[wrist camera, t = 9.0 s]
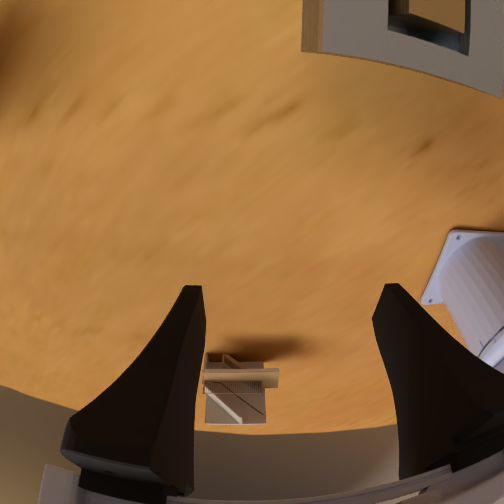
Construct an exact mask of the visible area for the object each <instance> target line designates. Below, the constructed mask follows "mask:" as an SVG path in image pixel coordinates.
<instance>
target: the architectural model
mask: <svg viewBox="0 0 504 504" xmlns="http://www.w3.org/2000/svg"><path fill="white" fill-rule="evenodd" d="M224 360H225V361H224ZM202 373H203V380H202V385H203V395H204V394H207V397H206V411H205V424H217V425H257V424H266V411H265V388H278V379H279V368H265V369H264V366H263V362H237V361H236V360H235V359H233V358H232V357H231V356H229V355H228V354H223V358H222V362H209V359H208V354H207V353H205V359H204V369H203V371H202Z"/></svg>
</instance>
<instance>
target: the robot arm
mask: <svg viewBox="0 0 504 504" xmlns="http://www.w3.org/2000/svg"><path fill="white" fill-rule="evenodd" d="M458 235H459V236H458ZM457 236H458V237H457ZM421 303H422V304H423V305H427V304H438V303H444V304H445V306H446V307H447V309H448V311H449V313H450V315H451V316H452V318H453V320H454V322H455V324H456V326H457V328H458V330H459V332H460V334H461V336H462V338H463V340H464V342H465V344H466V346H467V348H468V350H467V349H466V348H465V347H464V346H463V345H461V344H460V343H459V342H458V341H456V340H455V339H454V338H453V337H452V336H451V335H450V334H449V333H448V332H447V331H446V330H444V329H443V328H442V327H441V326H440V325H439V324H438V323H437V322H436V321H435V320H434V319H433V318H432V317H431V316H430V315H429V314H428V313H427V312H426V311H425V310H424V309H423V308H422V307H421V306H420V305H419V303H418V302H417V301H416V300H415V299H414V298H413V297H412V296H411V295H410V294H409V293H408V292H407V291H406V290H405V289H404V288H403V287H402V286H401V285H400V284H398V283H391V284H385V286H384V288H383V291H382V294H381V296H380V299H379V302H378V304H377V307H376V309H375V312H374V314H373V317H372V321H373V327H374V332H375V336H376V341H377V344H378V347H379V350H380V353H381V356H382V359H383V362H384V365H385V368H386V371H387V375H388V378H389V381H390V384H391V388H392V392H393V397H394V403H395V409H396V417H397V425H398V436H399V481H396V482H392V483H388V484H384V485H379V486H376V487H371V488H366V489H361V490H356V491H351V492H345V493H339V494H333V495H326V496H318V497H310V498H300V499H289V500H288V499H287V500H270V501H220V500H202V499H191V498H181V497H185V496H188V495H189V494H191V493H192V492H193V491H194V461H193V460H194V420H195V402H196V394H197V388H198V382H199V376H200V370H201V364H202V359H203V353H204V347H205V334H206V317H205V309H204V301H203V293H202V286H197V285H185V286H184V287H183V289H182V291H181V293H180V294H179V296H178V298H177V300H176V302H175V303H174V305H173V307H172V309H171V310H170V312H169V314H168V315H167V317H166V318H165V320H164V321H163V323H162V324H161V326H160V327H159V329H158V330H157V332H156V333H155V335H154V336H153V337H152V339H151V340H150V341H149V343H148V344H147V346H146V347H145V348H144V349H143V351H142V352H141V353H140V354H139V356H138V357H137V358H136V359H135V360H134V361H133V363H132V364H131V365H130V366H129V367H128V368H127V369H126V370H125V371H124V372H123V373H122V374H121V376H120V377H119V378H118V379H117V380H116V381H115V382H113V383H112V384H111V385H110V386H109V387H108V388H107V389H106V390H105V391H103V392H102V393H101V394H100V395H99V396H98V397H97V398H96V399H94V400H93V401H92V402H91V403H89V404H88V405H87V406H85V407H84V408H83V409H81V410H80V411H78V412H77V413H76V414H74V415H73V416H72V417H70V419H69V421H68V424H67V426H66V429H65V432H64V436H63V440H62V444H61V448H60V452H61V454H62V455H63V456H64V457H65V458H66V459H68V460H69V461H71V462H73V463H74V464H76V465H77V466H79V467H80V468H82V470H81V474H80V475H79V474H77V473H75V472H71V471H69V470H66V469H63V468H60V467H57V466H54V465H51V464H48V463H47V464H46V466H45V470H44V474H43V479H42V484H41V489H40V494H39V500H38V504H375V503H379V502H383V501H387V500H391V499H394V498H398V497H401V496H405V495H408V494H411V493H414V492H418V491H420V492H419V494H418V496H415V497H412V498H409V499H406V500H403V501H401V502H399V503H396V504H493V503H495V502H496V501H498V500H499V499H501V498H502V497H504V232H489V231H472V230H452V231H450V232H449V234H448V237H447V239H446V242H445V244H444V247H443V249H442V252H441V254H440V257H439V259H438V262H437V264H436V267H435V269H434V271H433V274H432V276H431V278H430V280H429V283H428V285H427V287H426V289H425V291H424V294H423V296H422V298H421ZM177 496H181V497H177Z"/></svg>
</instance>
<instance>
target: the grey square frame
mask: <svg viewBox="0 0 504 504" xmlns="http://www.w3.org/2000/svg"><path fill="white" fill-rule="evenodd" d="M301 52H310V53H320V54H328V55H336V56H343V57H350V58H356V59H362V60H367V61H373V62H378V63H383V64H387V65H392V66H396V67H400V68H405V69H409V70H413V71H416V72H420V73H424V74H427V75H431V76H434V77H438V78H441V79H444V80H447V81H450V82H453V83H457V84H460V85H463V86H466V87H469V88H472V89H475V90H478V91H481V92H484V93H487V94H489V95H492V96H495V97H497V98H500V99H501V98H502V92H503V84H504V0H465V29H464V34H461V33H445V32H412V31H409V30H406V29H402V28H399V27H395V26H391V25H388V0H303V14H302V43H301Z"/></svg>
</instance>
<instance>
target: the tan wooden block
mask: <svg viewBox="0 0 504 504" xmlns="http://www.w3.org/2000/svg"><path fill="white" fill-rule="evenodd" d="M388 25H391V26H395V27H399V28H402V29H406V30H409V31H412V32H445V33H461V34H464V29H465V0H388Z"/></svg>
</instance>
